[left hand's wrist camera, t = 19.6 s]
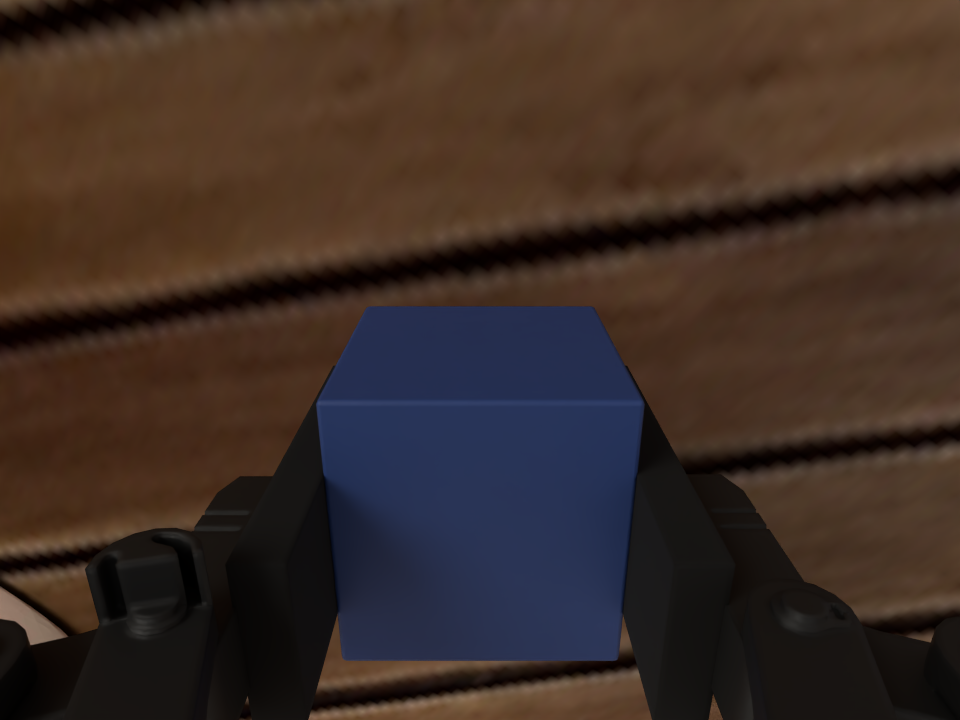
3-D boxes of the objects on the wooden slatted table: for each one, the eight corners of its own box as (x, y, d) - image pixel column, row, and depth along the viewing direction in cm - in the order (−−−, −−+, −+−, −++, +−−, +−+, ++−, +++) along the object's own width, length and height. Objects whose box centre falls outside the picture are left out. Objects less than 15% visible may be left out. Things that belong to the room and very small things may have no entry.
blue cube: (379, 506, 16) (340, 662, 11) (365, 304, 14) (313, 401, 10) (581, 506, 16) (619, 662, 11) (594, 305, 14) (646, 401, 10)
